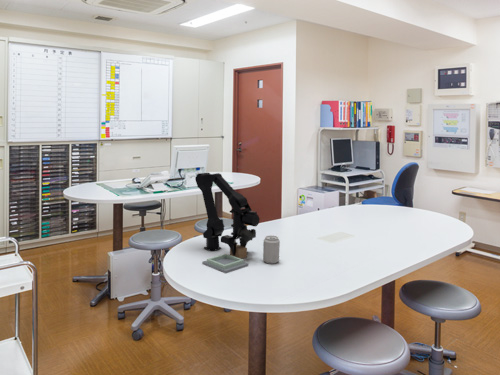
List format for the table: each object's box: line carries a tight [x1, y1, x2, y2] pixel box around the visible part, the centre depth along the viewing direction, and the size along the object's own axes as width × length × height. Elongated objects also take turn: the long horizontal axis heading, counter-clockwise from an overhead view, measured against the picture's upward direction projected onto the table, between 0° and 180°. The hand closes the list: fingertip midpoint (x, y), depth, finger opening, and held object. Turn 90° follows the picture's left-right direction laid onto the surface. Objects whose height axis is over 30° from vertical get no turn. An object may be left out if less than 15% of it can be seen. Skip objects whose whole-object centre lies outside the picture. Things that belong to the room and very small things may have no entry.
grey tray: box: [201, 253, 249, 274], centre depth 189 cm, size 16×14×2 cm
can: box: [262, 235, 281, 265], centre depth 194 cm, size 8×8×12 cm
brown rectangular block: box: [229, 244, 248, 259], centre depth 201 cm, size 7×5×4 cm
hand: (238, 253), depth 202 cm, fingers closed on brown rectangular block, 5 cm apart
